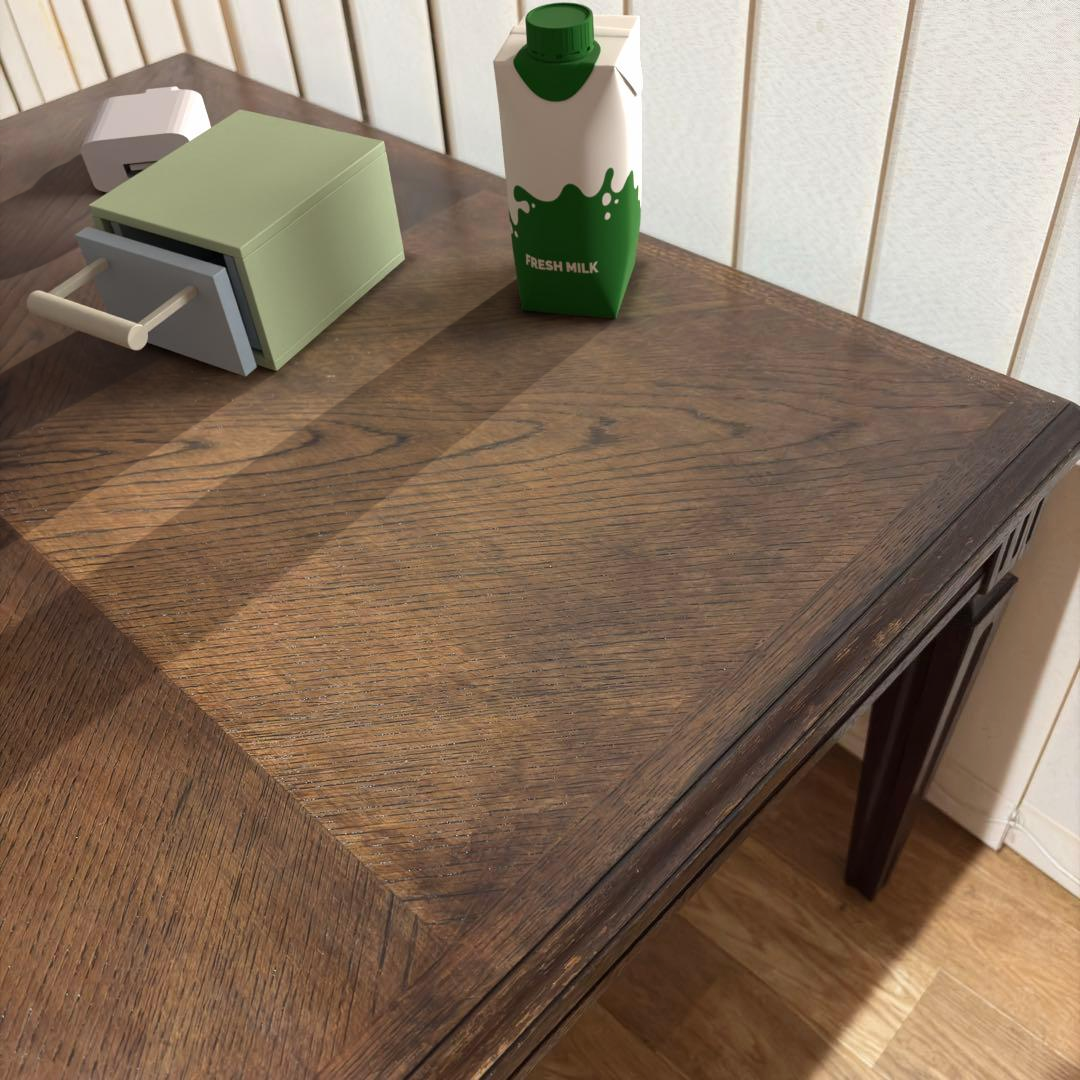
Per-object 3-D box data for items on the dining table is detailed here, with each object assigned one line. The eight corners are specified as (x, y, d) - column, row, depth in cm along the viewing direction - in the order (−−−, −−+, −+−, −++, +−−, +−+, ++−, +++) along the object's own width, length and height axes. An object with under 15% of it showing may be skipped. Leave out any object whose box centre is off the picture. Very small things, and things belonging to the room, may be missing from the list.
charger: (221, 109, 104) (202, 183, 93) (126, 119, 104) (97, 194, 93) (207, 59, 100) (186, 131, 90) (109, 69, 100) (76, 142, 90)
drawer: (181, 432, 68) (140, 331, 63) (48, 380, 73) (-1, 282, 68) (372, 269, 80) (352, 171, 75) (247, 234, 85) (219, 140, 79)
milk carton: (506, 317, 76) (476, 28, 62) (537, 249, 82) (516, -28, 68) (626, 328, 75) (624, 33, 60) (649, 258, 80) (652, -25, 66)
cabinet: (276, 371, 74) (239, 248, 67) (135, 323, 79) (87, 205, 72) (405, 259, 83) (384, 140, 76) (270, 222, 88) (239, 108, 81)
